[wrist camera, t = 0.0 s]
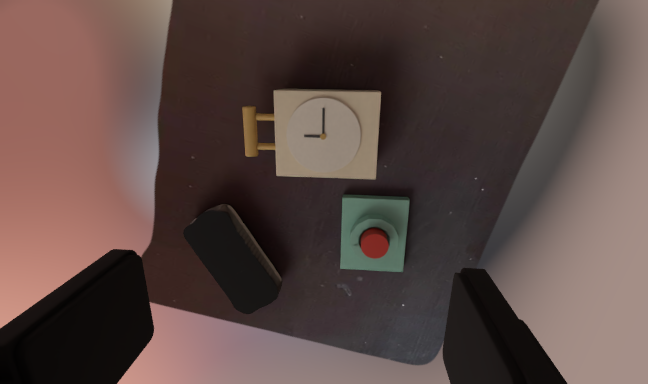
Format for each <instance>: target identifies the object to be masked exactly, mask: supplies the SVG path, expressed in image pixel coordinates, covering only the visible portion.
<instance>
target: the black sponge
mask: <svg viewBox="0 0 648 384" xmlns="http://www.w3.org/2000/svg"><path fill="white" fill-rule="evenodd" d="M184 237H185V239H186V240H187V242H188V243H189V244H190V246H191V247H192V249H193V250H194V252H195V253H196V254H197V255H198V257H199V258H200V260H201V261H202V262H203V264H204V265H205V266H206V268H207V269H208V271H209V272H210V273H211V275H212V276H213V277H214V279H215V280H216V281H217V283H218V284H219V285H220V287H221V288H222V290H223V291H224V292H225V294H226V295H227V296H228V298H229V299H230V301H231V302H232V304H233V306H234V307H235V308H236V310H238V311H240V312H242V313H245V314H251V313H253V312H254V311H256V310H258V309H259V308H262V307H264V306H267V305H268V304H270V303H271V302H273V301H274V300H276V298H277V297H278V294H279V292H280V289H281V286H282V278H281V277H280V275H279V273H278V272H277V271H276V269H275V268H274V266H273V264H272V263H271V262H270V260H269V259H268V257H267V256H266V255H265V253H264V252H263V250H262V249H261V247H260V246H259V245H258V243H257V242H256V240H255V239H254V237H253V235H251V233H250V231H249V230H248V228H247V227H246V226H245V224H244V223H243V222H242V220H241V219H240V217H239V216H238V214H237V213H236V211H235V210H234V209H233V208H232V207H231V206H230V205H227V204H221V205H218V206H216V207H213V208H210V209H208V210H206V211H205V212H204V213H202V214H200V215H199V216H198V217H197V218H196V219H194V220H193V221H192V222H191V223H190V225H189V226H187V227H186V228H185V229H184Z"/></svg>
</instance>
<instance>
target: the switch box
mask: <svg viewBox="0 0 648 384" xmlns="http://www.w3.org/2000/svg"><path fill="white" fill-rule="evenodd" d="M409 204H410V200H409V198H408V197H395V196H370V195H344V194H343V199H342V232H341V264H340V268H341V269H358V270H376V271H394V272H403V265H404V255H405V245H406V235H407V224H408V214H409ZM370 228H378V229H381V230H382V231H384V232H385V234H386V235H387V239H388V244H389V248H388V251H387V253H386V254H385V255H384V256H383V257H381V258H377V259H373V258H369V257H367V256H366V255H365V254H364V253H363V252H362V249H361V236H362V234H363V233H364V232H365V231H366V230H368V229H370Z"/></svg>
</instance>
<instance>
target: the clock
mask: <svg viewBox="0 0 648 384" xmlns="http://www.w3.org/2000/svg"><path fill="white" fill-rule="evenodd" d="M380 103H381V92H380V91H378V90H332V89H279V90H274V114H260V113H257V114H256V106H243V107H242V108H243V124H244V140H245V155H246V156H248V157H254V156H258V149H262V150H276V175H277V176H296V177H324V178H352V179H376V168H377V151H378V135H379V119H380ZM257 120H272V121H275V143H258V137H257Z"/></svg>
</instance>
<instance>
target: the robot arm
mask: <svg viewBox="0 0 648 384" xmlns="http://www.w3.org/2000/svg"><path fill="white" fill-rule="evenodd" d="M153 333H154V325H153V320H152V314H151V308H150V303H149V297H148V292H147V286H146V280H145V275H144V269H143V263H142V259H141V257H140V256H139V255H137V254H136V252H135V251H133V250H119V249H113V250H111V251H109V252H108V253H106V254H105V255H104V256H102V257H101V258H100V259H98V260H97V261H95V262H94V263H92V264H91V265H90V266H88V267H87V268H85V269H84V270H82V271H81V272H80V273H79V274H77V275H75V276H74V277H73V278H71V279H70V280H68V281H67V282H65V283H64V284H63V285H62V286H60V287H58V288H57V289H56V290H54V291H53V292H51V293H50V294H49V295H47V296H46V297H44V298H43V299H41V300H40V301H39V302H37V303H36V304H34V305H33V306H32V307H30V308H29V309H28V310H26V311H25V312H23V313H22V314H21V315H19V316H17V317H16V318H15V319H13V320H12V321H10V322H9V323H8V324H6V325H5V326H3V327H2V328H0V384H117V383H118V381H119V380H120V379H121V378H122V376H123V375H124V374H125V372H126V371H127V370H128V369H129V367H130V366H131V365H132V363H133V362H134V361H135V360H136V358H137V357H138V356H139V354H140V353H141V352H142V351H143V349H144V348H145V347H146V346H147V344H148V343H149V342H150V340H151V338H152V336H153ZM443 360H444V364H445V367H446V370H447V373H448V377H449V380H450V383H451V384H567V382H566V381H565V379H564V378H563V377H562V375H561V374H560V372H559V371H558V369H557V368H556V367H555V365H554V364H553V362H552V361H551V359H550V358H549V357H548V355H547V354H546V352H545V351H544V349H543V348H542V346H541V345H540V344H539V342H538V341H537V339H536V338H535V336H534V335H533V333H532V332H531V331H530V329H529V328H528V326H527V325H526V324H525V323H524V322H523V321H522V320H520V319H518V317H517V316H516V314H515V313H514V311H513V310H512V308H511V307H510V305H509V304H508V303H507V301H506V300H505V298H504V297H503V295H502V294H501V292H500V291H499V289H498V288H497V286H496V285H495V283H494V282H493V280H492V279H491V277H490V276H489V274H488V273H487V272H486V270H485V269H473V268H463V269H462V270H461V273H455V275H454V279H453V285H452V292H451V298H450V305H449V311H448V318H447V325H446V331H445V338H444V344H443Z"/></svg>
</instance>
